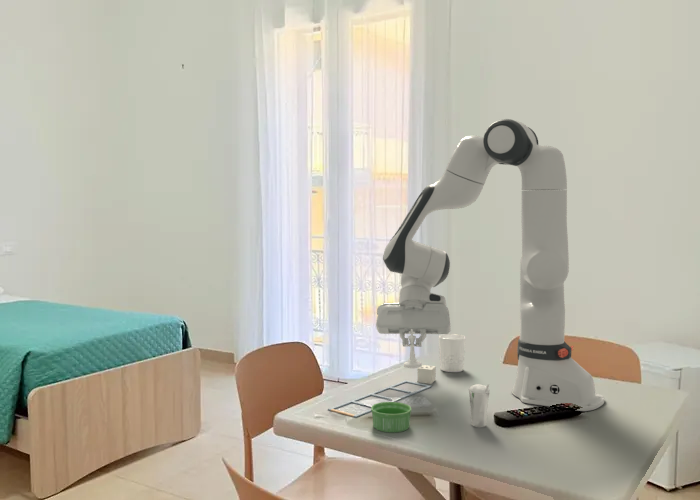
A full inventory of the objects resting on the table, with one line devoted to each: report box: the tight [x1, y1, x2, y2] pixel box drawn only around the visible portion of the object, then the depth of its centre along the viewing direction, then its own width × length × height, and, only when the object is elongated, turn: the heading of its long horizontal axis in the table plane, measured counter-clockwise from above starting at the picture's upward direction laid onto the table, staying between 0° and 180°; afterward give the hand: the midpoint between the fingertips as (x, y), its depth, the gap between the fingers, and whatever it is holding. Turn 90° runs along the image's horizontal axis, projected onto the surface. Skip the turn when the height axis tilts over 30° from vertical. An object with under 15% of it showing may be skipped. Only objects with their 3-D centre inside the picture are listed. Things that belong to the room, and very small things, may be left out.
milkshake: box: [468, 383, 490, 428], centre depth 145 cm, size 4×5×10 cm
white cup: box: [438, 333, 466, 373], centre depth 194 cm, size 8×8×10 cm
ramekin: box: [370, 401, 412, 433], centre depth 145 cm, size 9×9×4 cm
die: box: [416, 364, 437, 385], centre depth 182 cm, size 4×4×4 cm
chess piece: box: [403, 329, 423, 369], centre depth 175 cm, size 5×5×10 cm
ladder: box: [327, 379, 433, 418], centre depth 166 cm, size 9×33×1 cm, turn 141°
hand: (411, 345), depth 174 cm, fingers closed on chess piece, 2 cm apart
